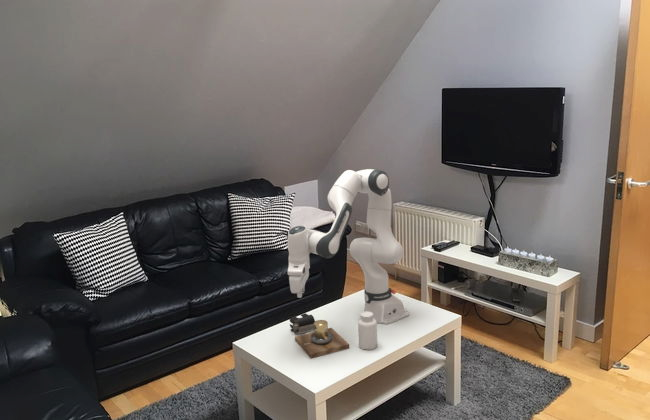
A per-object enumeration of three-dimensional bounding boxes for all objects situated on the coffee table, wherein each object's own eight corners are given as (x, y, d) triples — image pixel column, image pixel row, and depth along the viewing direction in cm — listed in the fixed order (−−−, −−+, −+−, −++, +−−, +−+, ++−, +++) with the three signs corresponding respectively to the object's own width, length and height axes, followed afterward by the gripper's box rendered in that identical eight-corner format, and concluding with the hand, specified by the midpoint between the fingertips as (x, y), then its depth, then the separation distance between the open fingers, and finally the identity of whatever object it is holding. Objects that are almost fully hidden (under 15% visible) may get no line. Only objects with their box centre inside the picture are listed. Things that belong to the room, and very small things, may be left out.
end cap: (297, 336, 256) (296, 322, 254) (289, 330, 262) (288, 317, 260) (315, 330, 261) (315, 316, 259) (307, 324, 267) (307, 311, 265)
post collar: (326, 333, 252) (326, 329, 252) (335, 342, 244) (335, 337, 244) (308, 338, 249) (307, 334, 248) (316, 347, 241) (316, 342, 240)
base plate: (331, 331, 259) (331, 327, 258) (349, 348, 243) (349, 343, 242) (295, 340, 251) (294, 336, 251) (311, 358, 235) (310, 353, 235)
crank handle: (322, 329, 251) (322, 313, 249) (332, 338, 243) (331, 321, 241) (290, 337, 245) (289, 320, 243) (298, 347, 237) (297, 329, 235)
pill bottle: (358, 350, 241) (357, 317, 237) (359, 341, 248) (358, 309, 245) (376, 350, 240) (375, 318, 236) (377, 341, 247) (376, 310, 244)
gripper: (297, 256, 250) (299, 285, 253) (286, 272, 230) (288, 304, 234) (311, 256, 249) (313, 285, 252) (301, 273, 229) (303, 304, 233)
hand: (301, 294), depth 243 cm, fingers open, 3 cm apart
